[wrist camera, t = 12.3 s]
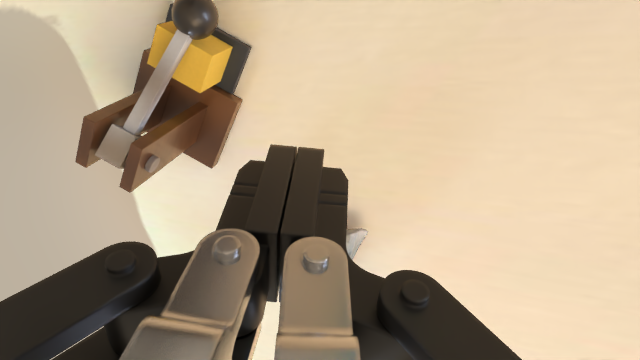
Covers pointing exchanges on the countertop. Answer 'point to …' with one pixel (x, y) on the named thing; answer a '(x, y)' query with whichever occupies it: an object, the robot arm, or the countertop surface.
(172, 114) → the brown lever base bracket
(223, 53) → the butter
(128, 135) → the ball-knob lever
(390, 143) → the countertop surface
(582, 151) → the countertop surface
